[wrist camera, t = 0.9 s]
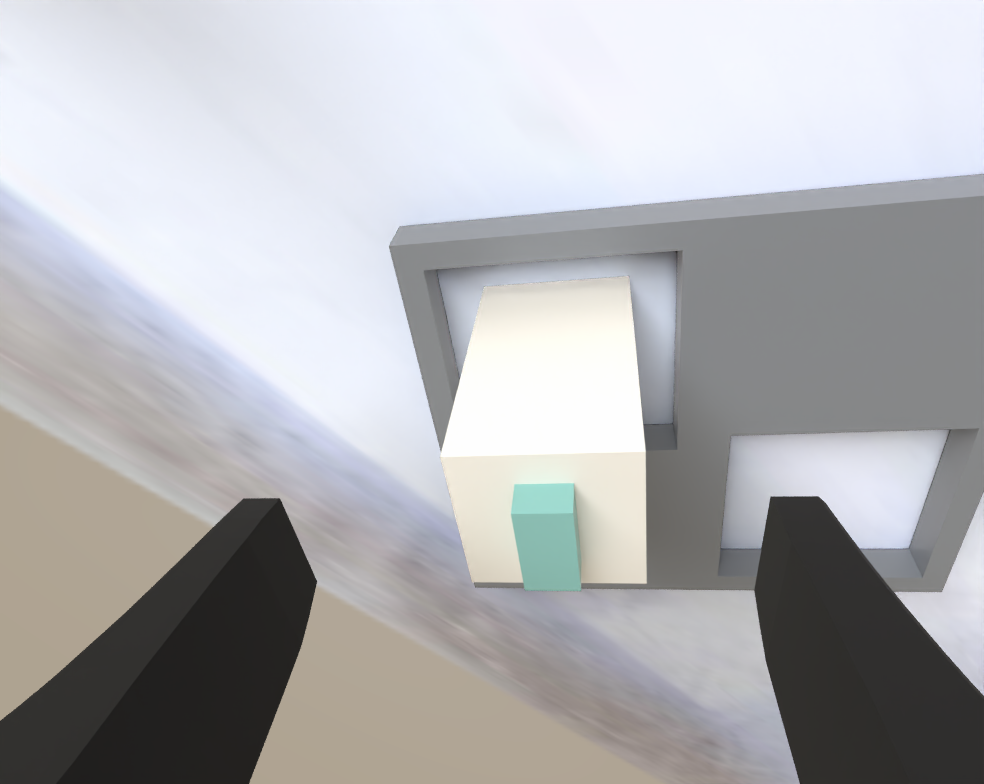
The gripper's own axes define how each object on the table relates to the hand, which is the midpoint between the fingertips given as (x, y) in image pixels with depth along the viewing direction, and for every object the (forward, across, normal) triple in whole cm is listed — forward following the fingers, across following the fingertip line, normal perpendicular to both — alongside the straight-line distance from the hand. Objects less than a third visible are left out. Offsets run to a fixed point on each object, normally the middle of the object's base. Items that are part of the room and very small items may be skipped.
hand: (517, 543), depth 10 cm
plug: (+10, 0, +3) cm, 10 cm away
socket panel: (+10, -4, +6) cm, 12 cm away
